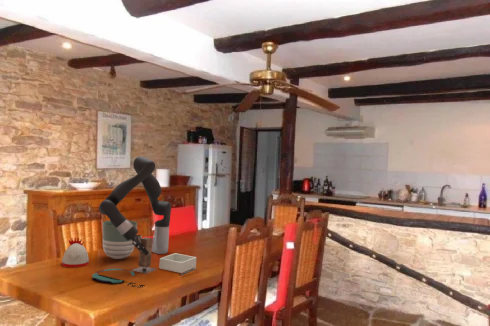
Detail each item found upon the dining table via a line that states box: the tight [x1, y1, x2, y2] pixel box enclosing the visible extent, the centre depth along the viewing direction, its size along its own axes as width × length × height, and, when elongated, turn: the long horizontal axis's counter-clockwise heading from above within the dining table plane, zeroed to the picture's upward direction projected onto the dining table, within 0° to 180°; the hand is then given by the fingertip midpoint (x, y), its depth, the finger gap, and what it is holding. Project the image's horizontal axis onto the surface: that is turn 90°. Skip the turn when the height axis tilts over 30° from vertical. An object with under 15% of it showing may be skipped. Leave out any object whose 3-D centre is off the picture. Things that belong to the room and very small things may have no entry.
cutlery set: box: [91, 268, 146, 289], centre depth 204 cm, size 20×30×2 cm, turn 70°
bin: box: [158, 252, 197, 277], centre depth 226 cm, size 15×15×7 cm
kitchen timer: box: [61, 236, 90, 268], centre depth 225 cm, size 14×14×15 cm
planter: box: [102, 219, 138, 260], centre depth 242 cm, size 20×20×21 cm
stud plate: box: [131, 266, 158, 275], centre depth 218 cm, size 10×10×5 cm
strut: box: [138, 236, 152, 268], centre depth 218 cm, size 4×4×15 cm
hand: (148, 252), depth 218 cm, fingers closed on strut, 6 cm apart
